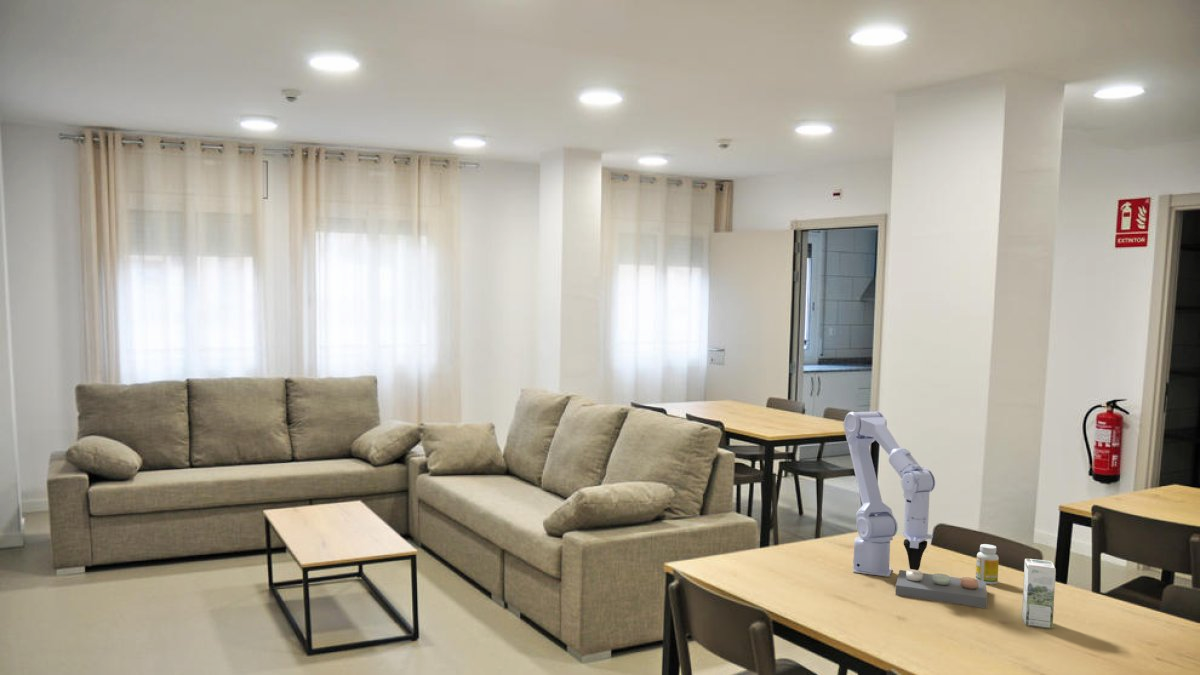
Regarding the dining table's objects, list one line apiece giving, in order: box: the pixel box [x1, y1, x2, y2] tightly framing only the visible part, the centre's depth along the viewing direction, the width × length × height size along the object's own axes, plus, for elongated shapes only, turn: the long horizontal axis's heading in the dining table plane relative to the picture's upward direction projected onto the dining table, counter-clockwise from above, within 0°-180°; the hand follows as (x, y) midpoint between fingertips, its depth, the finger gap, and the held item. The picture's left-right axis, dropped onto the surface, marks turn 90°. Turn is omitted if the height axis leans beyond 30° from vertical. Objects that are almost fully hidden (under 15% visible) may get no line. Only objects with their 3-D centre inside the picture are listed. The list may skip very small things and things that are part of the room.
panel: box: [895, 569, 988, 609], centre depth 217 cm, size 21×14×2 cm, turn 67°
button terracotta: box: [960, 576, 978, 589], centre depth 215 cm, size 4×4×4 cm
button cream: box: [905, 569, 924, 582], centre depth 220 cm, size 4×4×4 cm
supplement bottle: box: [975, 543, 1000, 585], centre depth 228 cm, size 5×5×10 cm
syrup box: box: [1021, 558, 1057, 630], centre depth 197 cm, size 6×6×14 cm
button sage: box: [933, 573, 951, 586], centre depth 217 cm, size 4×4×4 cm
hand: (914, 569), depth 220 cm, fingers closed
